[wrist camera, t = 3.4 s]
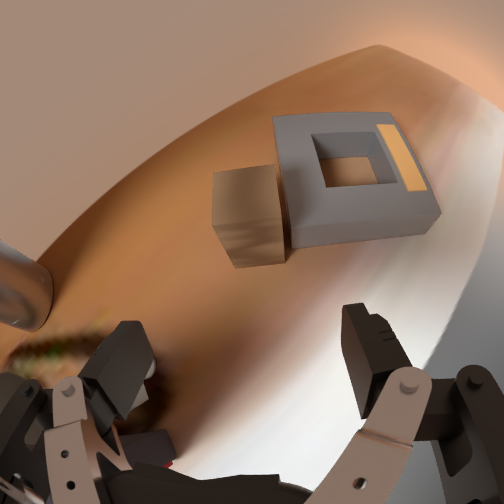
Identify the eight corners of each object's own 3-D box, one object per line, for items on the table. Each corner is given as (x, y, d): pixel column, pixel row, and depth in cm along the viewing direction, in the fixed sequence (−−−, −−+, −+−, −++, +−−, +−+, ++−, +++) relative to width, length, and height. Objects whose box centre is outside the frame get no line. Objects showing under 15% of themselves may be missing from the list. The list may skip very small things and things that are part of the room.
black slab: (96, 468, 18) (-12, 492, 4) (83, 433, 19) (-32, 439, 6) (182, 463, 18) (71, 530, 4) (165, 422, 20) (35, 454, 6)
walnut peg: (235, 268, 25) (211, 225, 18) (233, 225, 27) (212, 172, 19) (285, 263, 24) (281, 216, 17) (279, 219, 26) (273, 164, 19)
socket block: (291, 249, 25) (291, 226, 21) (275, 142, 31) (272, 115, 27) (425, 233, 23) (442, 212, 20) (383, 136, 29) (390, 111, 25)
